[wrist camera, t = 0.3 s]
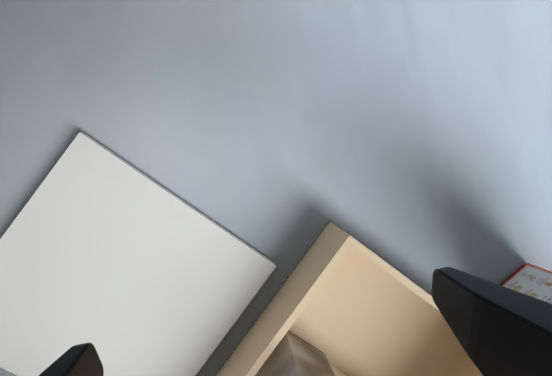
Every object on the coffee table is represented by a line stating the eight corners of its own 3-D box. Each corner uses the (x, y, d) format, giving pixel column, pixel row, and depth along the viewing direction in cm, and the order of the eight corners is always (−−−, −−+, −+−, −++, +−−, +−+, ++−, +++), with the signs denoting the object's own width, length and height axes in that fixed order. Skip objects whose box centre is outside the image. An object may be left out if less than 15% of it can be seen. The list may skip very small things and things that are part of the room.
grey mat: (149, 433, 24) (147, 440, 23) (-61, 327, 21) (-69, 332, 20) (275, 263, 24) (276, 266, 23) (83, 132, 21) (79, 132, 20)
